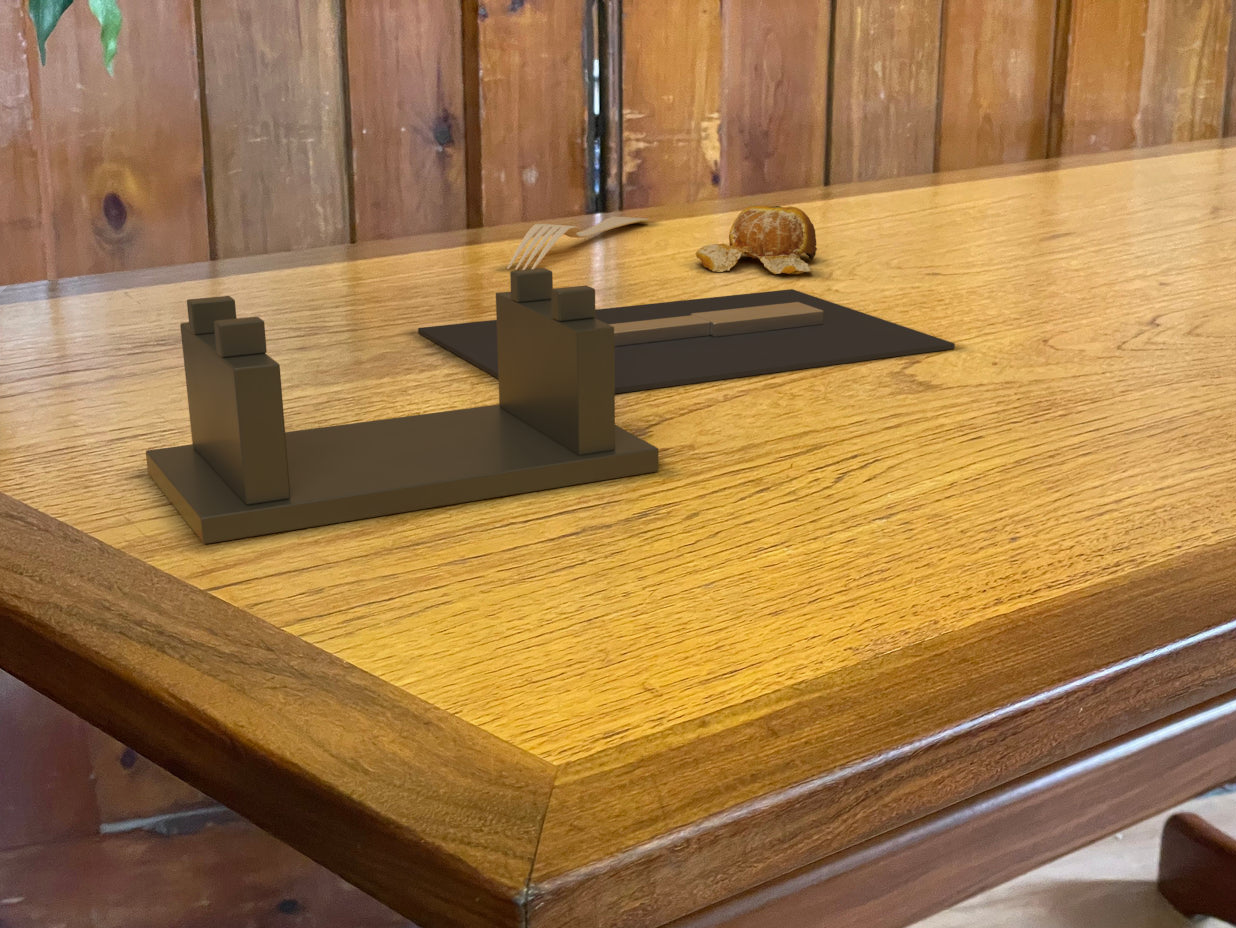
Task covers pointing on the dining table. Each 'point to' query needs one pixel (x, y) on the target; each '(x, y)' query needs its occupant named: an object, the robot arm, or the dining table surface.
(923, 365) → the dining table surface
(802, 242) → the fruit
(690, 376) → the placemat
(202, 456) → the cutlery rack
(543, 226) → the fork
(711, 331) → the bridge-like plank
